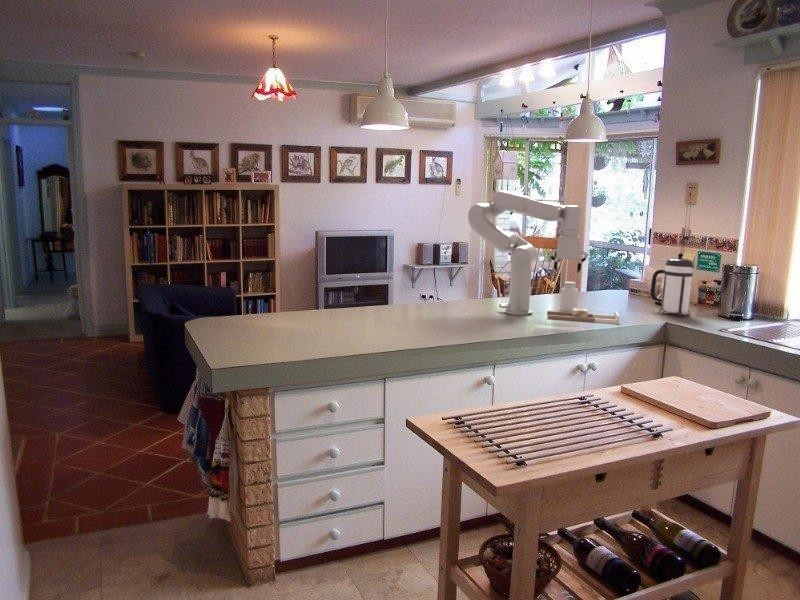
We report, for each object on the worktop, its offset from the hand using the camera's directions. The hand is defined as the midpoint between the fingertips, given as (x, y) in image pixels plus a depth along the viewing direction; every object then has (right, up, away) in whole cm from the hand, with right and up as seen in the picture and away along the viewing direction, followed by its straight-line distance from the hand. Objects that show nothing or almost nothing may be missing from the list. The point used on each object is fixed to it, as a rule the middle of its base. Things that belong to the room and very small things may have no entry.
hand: (566, 271), depth 286 cm
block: (+5, -21, -3) cm, 22 cm away
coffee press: (+58, -20, +26) cm, 66 cm away
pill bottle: (+5, -19, +17) cm, 26 cm away
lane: (+6, -23, -3) cm, 24 cm away
